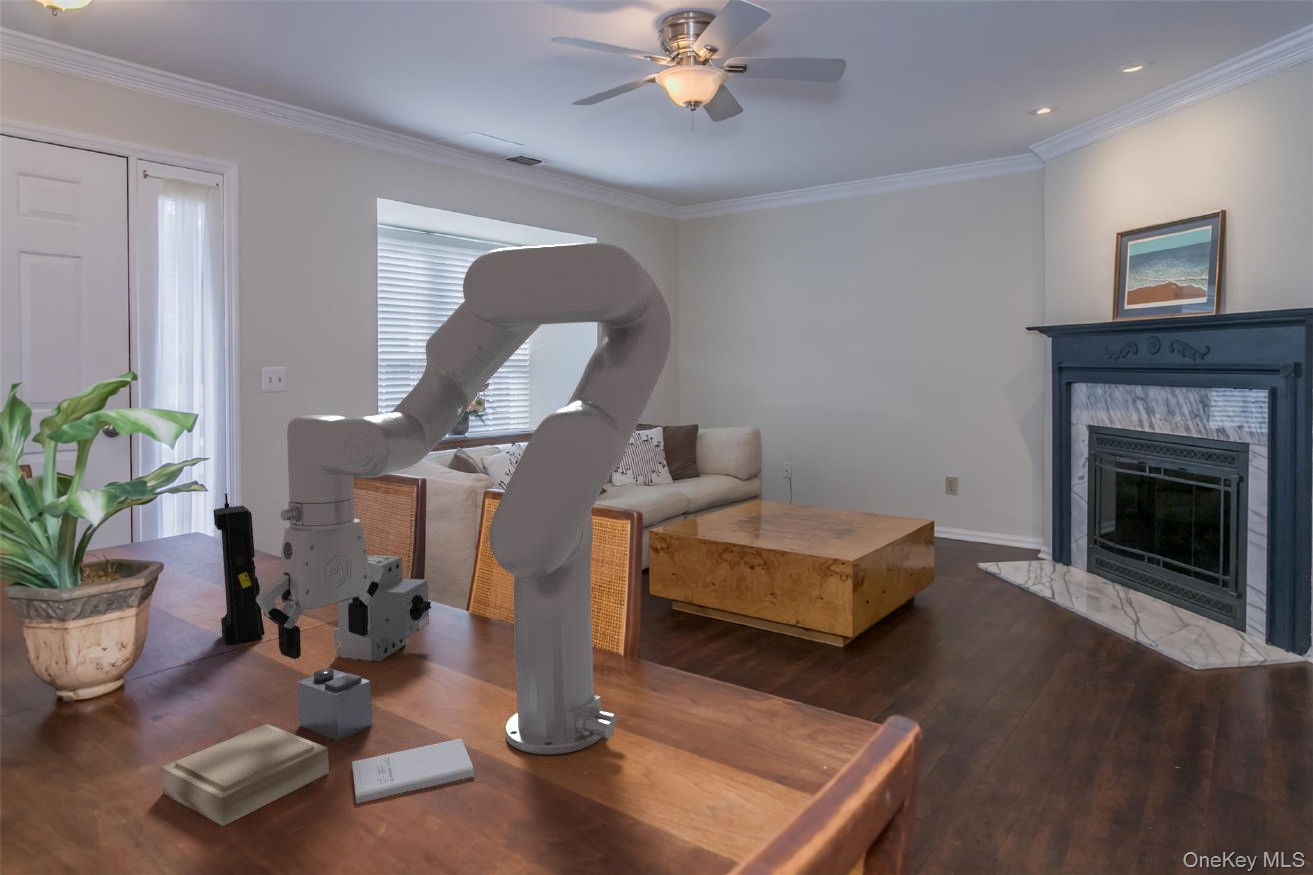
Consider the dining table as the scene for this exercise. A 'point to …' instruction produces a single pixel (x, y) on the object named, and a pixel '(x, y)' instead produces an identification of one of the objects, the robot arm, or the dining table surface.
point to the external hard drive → (411, 770)
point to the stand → (244, 773)
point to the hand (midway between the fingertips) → (325, 644)
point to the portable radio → (239, 575)
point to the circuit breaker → (385, 614)
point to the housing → (334, 703)
